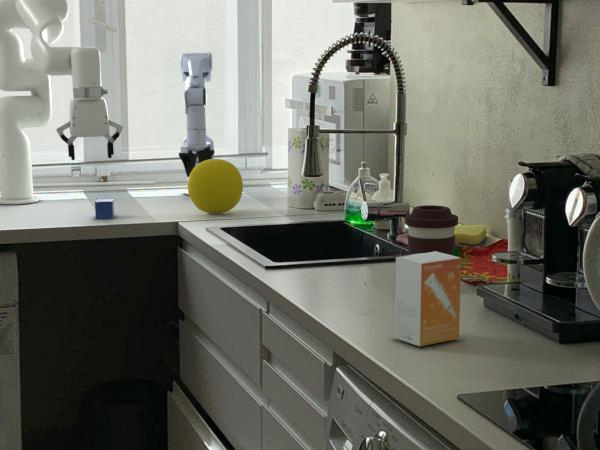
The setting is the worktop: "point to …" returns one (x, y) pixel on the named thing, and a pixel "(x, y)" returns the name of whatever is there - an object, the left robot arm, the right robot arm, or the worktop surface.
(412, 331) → the small box
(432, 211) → the coffee cup
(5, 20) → the left robot arm
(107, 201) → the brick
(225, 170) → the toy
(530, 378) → the worktop surface
